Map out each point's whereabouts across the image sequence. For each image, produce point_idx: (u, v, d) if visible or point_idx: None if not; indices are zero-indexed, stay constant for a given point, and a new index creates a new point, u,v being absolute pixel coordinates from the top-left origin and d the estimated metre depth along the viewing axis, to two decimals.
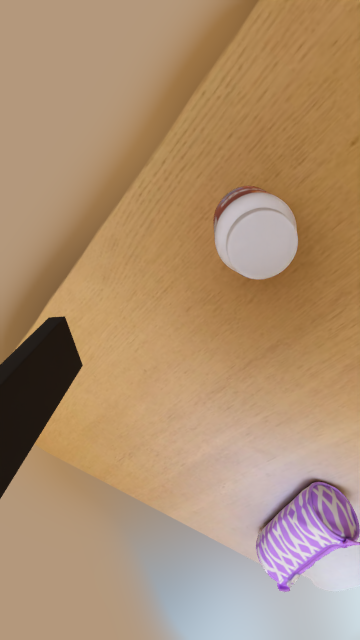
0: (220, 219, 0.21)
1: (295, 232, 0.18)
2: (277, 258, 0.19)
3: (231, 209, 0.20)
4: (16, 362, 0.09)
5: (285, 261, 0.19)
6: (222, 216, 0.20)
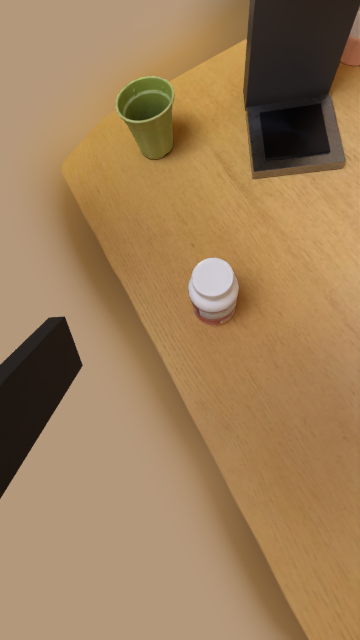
0: (196, 304, 0.33)
1: (209, 258, 0.31)
2: (221, 269, 0.31)
3: (191, 295, 0.33)
4: (16, 362, 0.09)
5: (225, 264, 0.31)
6: (194, 302, 0.33)
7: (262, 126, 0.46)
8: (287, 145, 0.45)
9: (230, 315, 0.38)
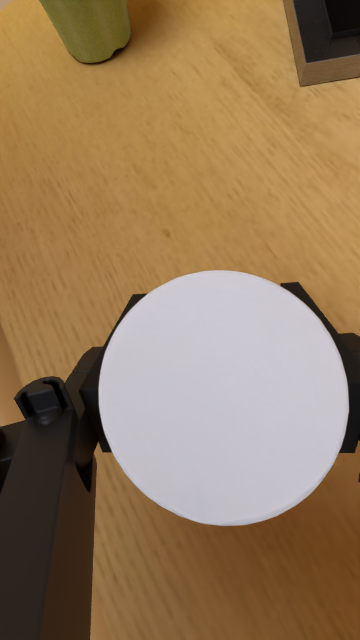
0: None
1: (197, 274, 0.06)
2: (271, 337, 0.05)
3: None
4: None
5: (289, 313, 0.05)
6: None
7: None
8: None
9: None
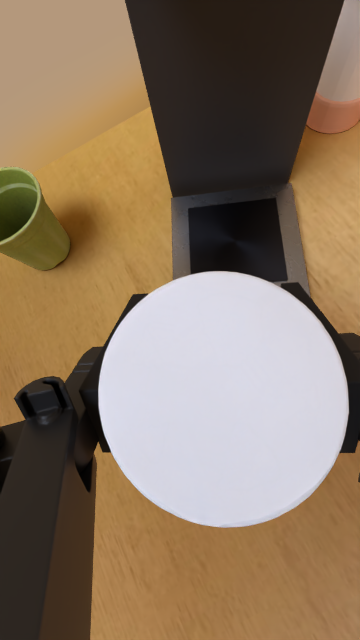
0: None
1: (197, 275, 0.06)
2: (270, 339, 0.05)
3: None
4: None
5: (288, 314, 0.05)
6: None
7: (190, 231, 0.31)
8: (224, 265, 0.30)
9: None
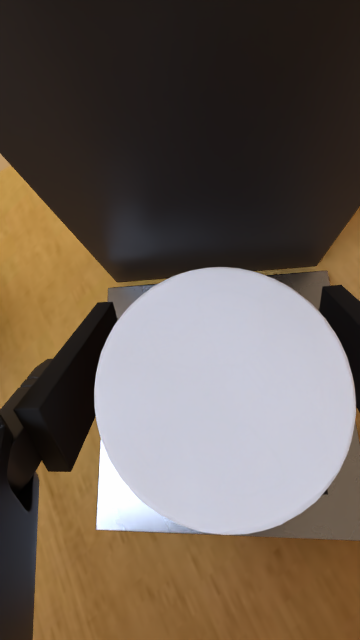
0: None
1: (197, 271, 0.06)
2: (274, 337, 0.05)
3: None
4: (81, 339, 0.10)
5: (293, 311, 0.05)
6: None
7: None
8: None
9: None
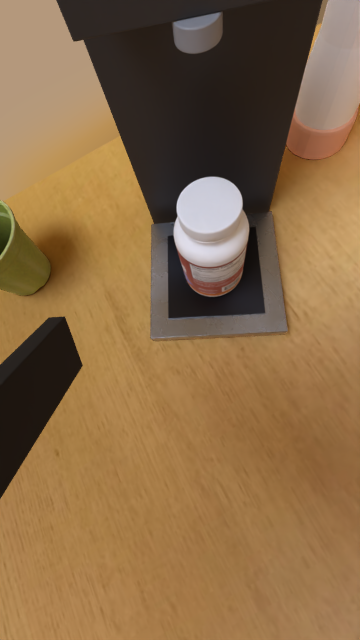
0: (184, 254, 0.22)
1: (204, 178, 0.20)
2: (223, 192, 0.19)
3: (178, 241, 0.22)
4: (16, 362, 0.09)
5: (228, 186, 0.19)
6: (182, 251, 0.22)
7: (169, 260, 0.31)
8: (202, 296, 0.29)
9: (235, 279, 0.26)
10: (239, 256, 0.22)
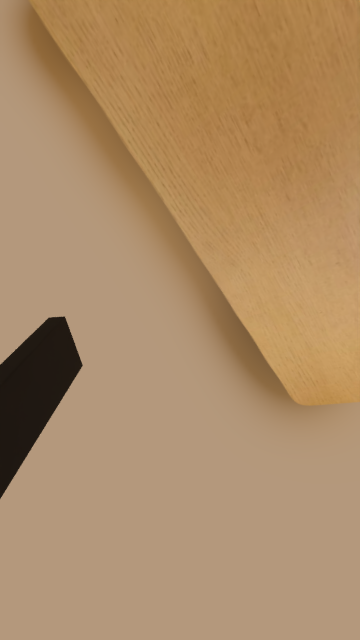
0: None
1: None
2: None
3: None
4: (16, 362, 0.09)
5: None
6: None
7: None
8: None
9: None
10: None
